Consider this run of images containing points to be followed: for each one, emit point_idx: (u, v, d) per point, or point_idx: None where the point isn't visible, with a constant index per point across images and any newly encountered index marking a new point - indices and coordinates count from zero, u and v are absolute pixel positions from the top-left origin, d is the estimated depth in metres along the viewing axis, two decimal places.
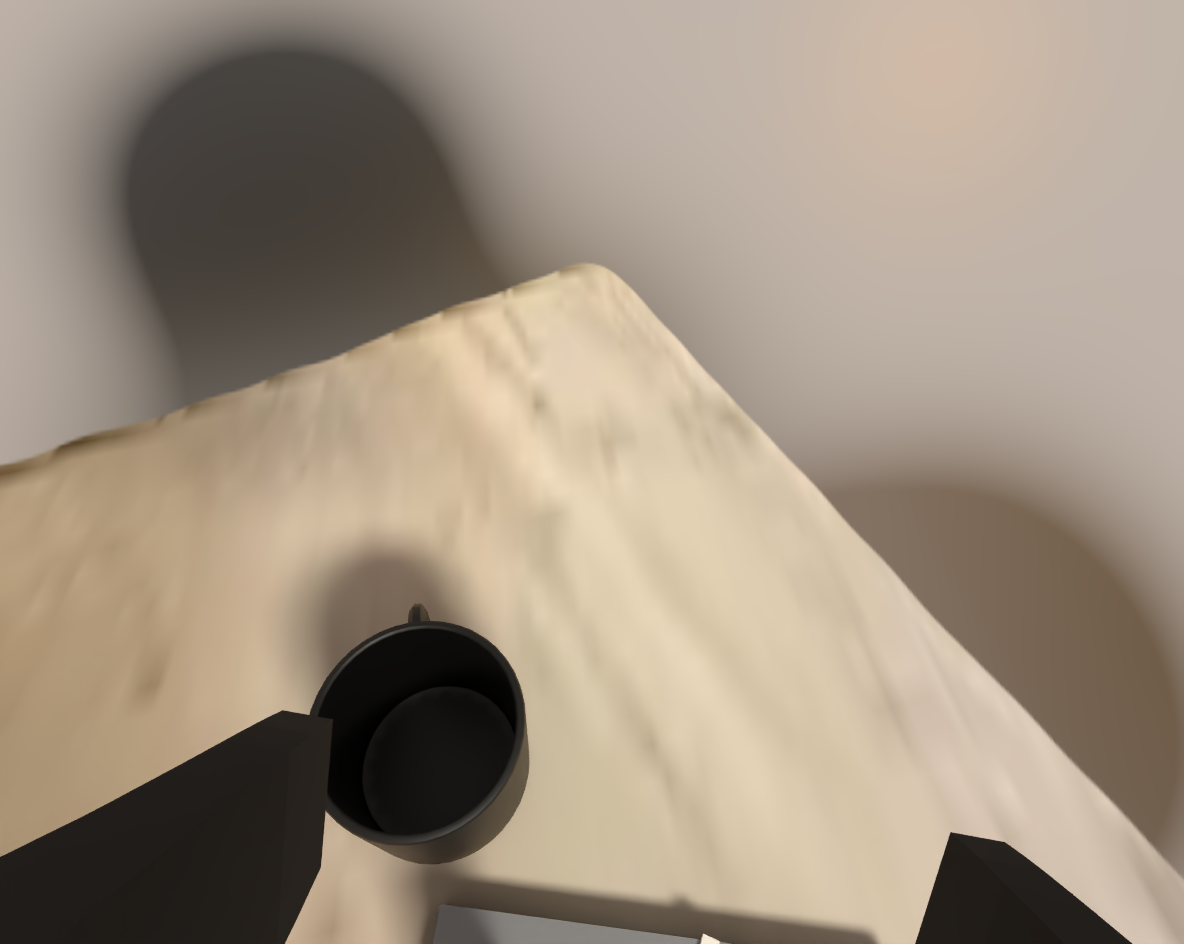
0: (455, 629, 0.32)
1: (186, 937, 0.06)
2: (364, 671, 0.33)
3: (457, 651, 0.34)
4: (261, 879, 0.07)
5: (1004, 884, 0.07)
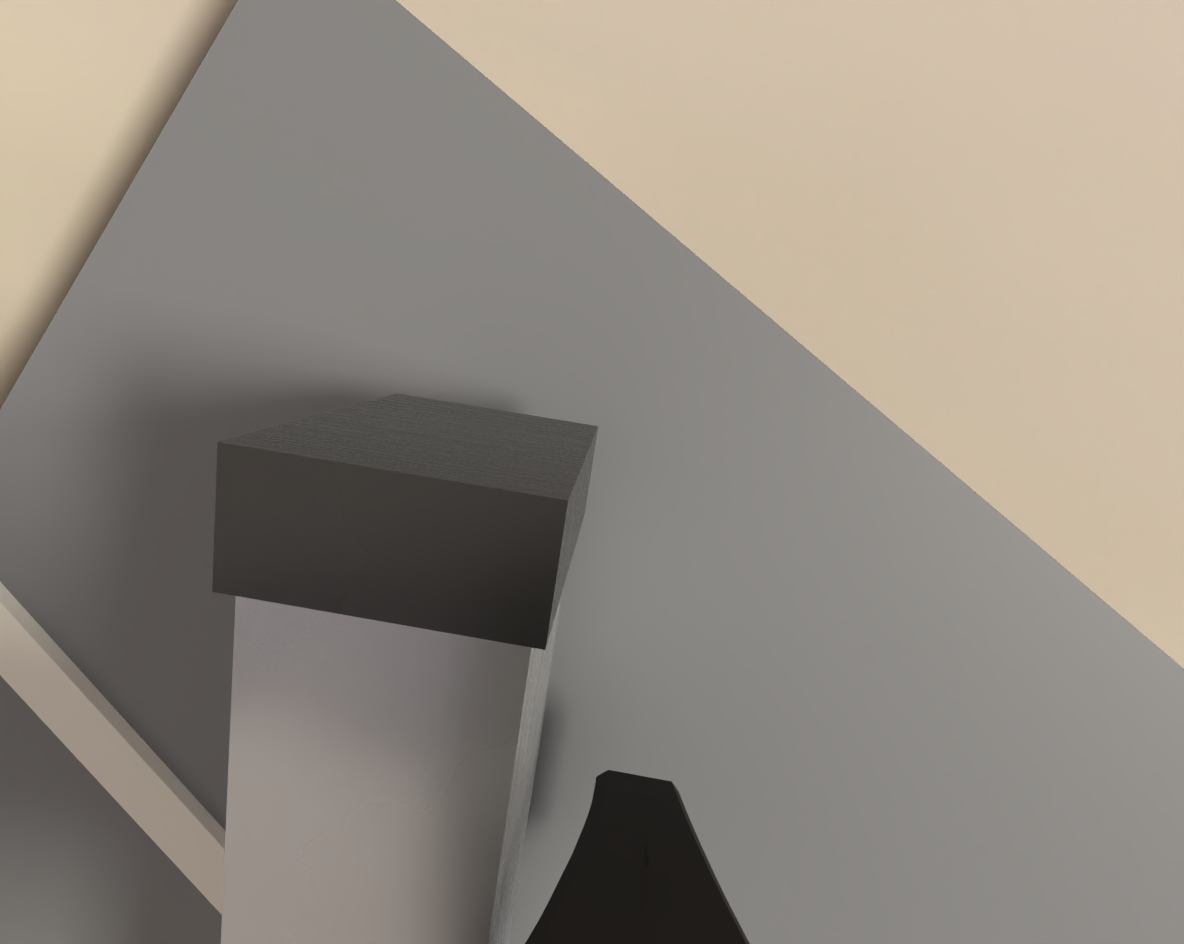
0: None
1: None
2: None
3: None
4: None
5: (623, 814, 0.07)
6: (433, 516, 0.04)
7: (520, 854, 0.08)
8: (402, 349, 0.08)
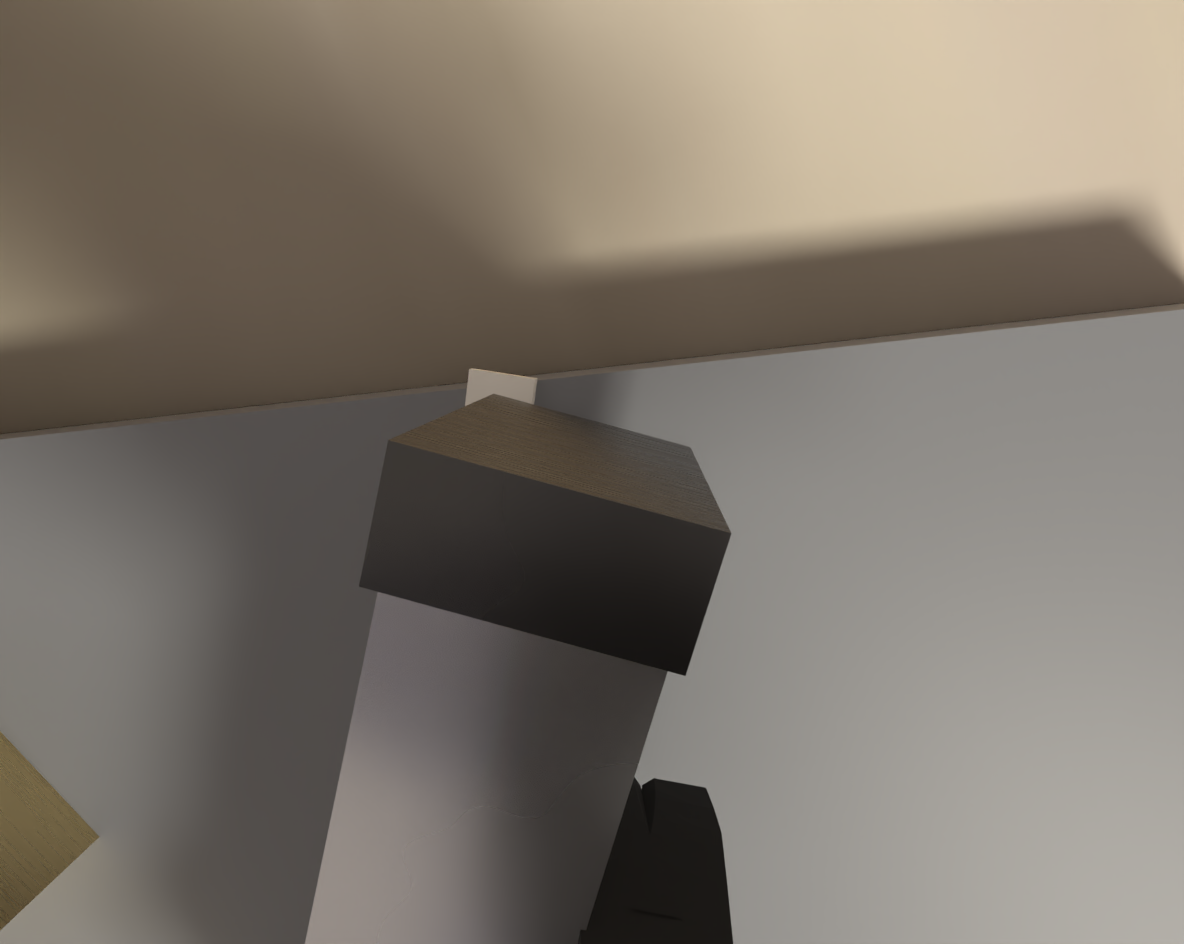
0: None
1: None
2: None
3: None
4: None
5: None
6: (594, 534, 0.04)
7: None
8: (1026, 623, 0.09)
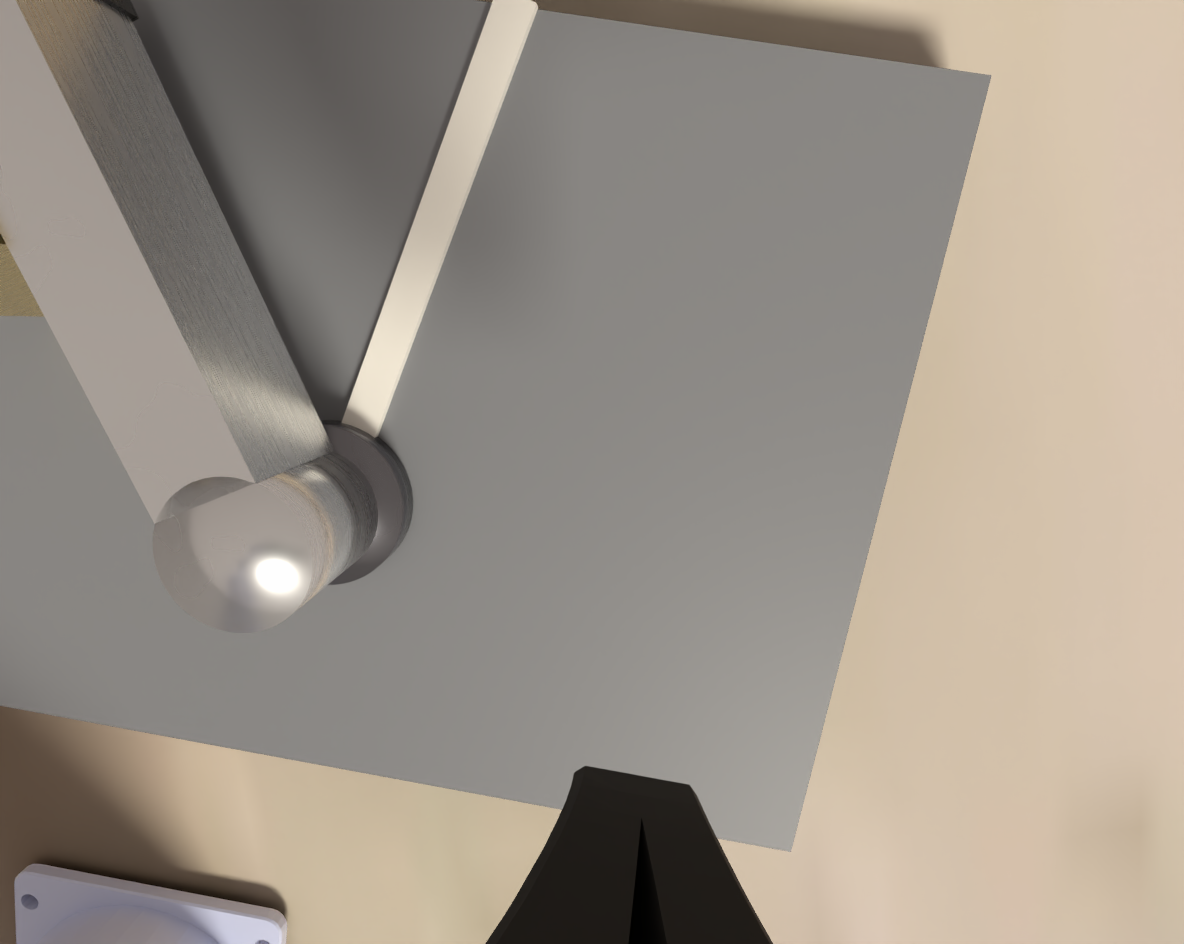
0: None
1: None
2: None
3: None
4: None
5: (644, 818, 0.07)
6: None
7: (215, 221, 0.13)
8: (791, 250, 0.14)
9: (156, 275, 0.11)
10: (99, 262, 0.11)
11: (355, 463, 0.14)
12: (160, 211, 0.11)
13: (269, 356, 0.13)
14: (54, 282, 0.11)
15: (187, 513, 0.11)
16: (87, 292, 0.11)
